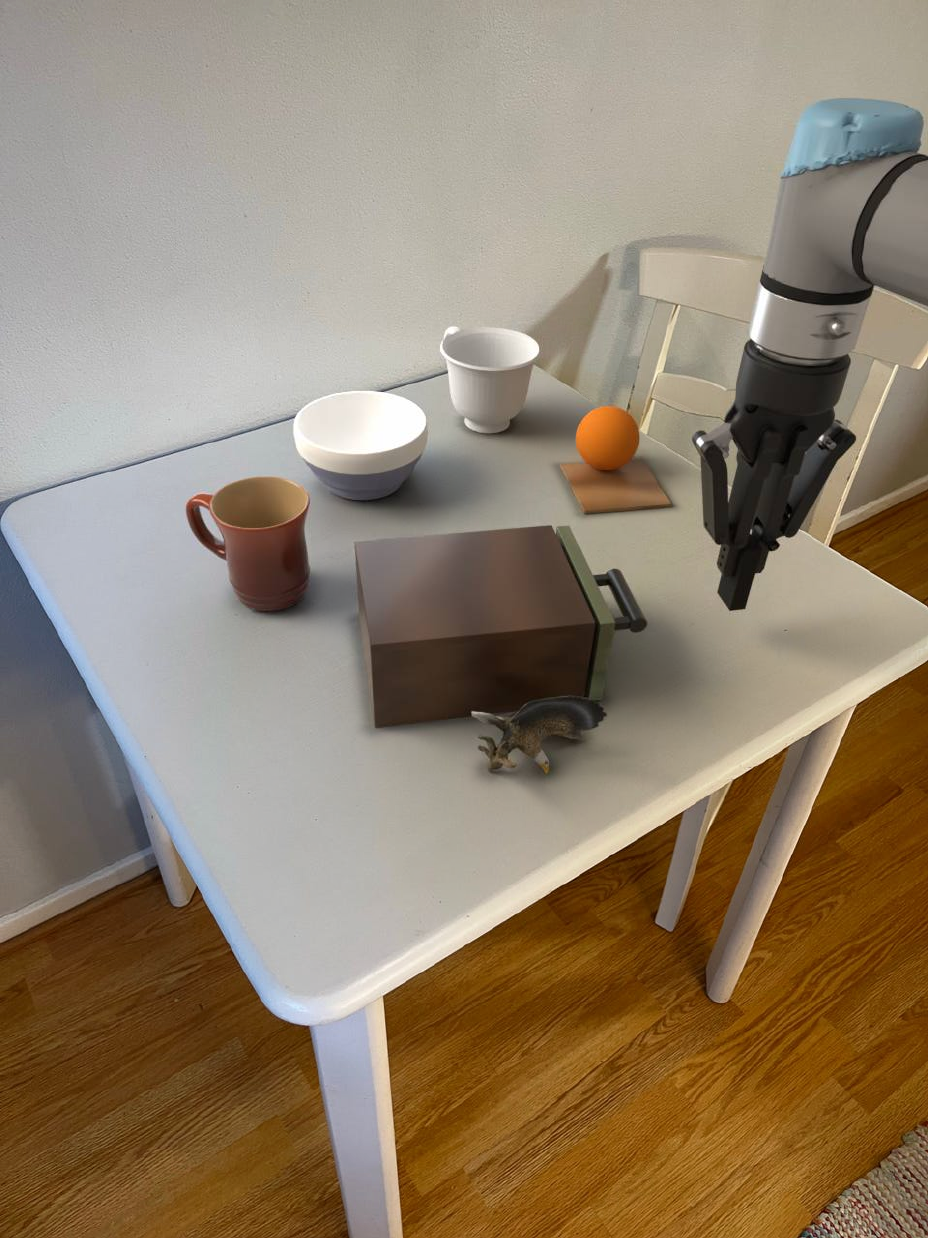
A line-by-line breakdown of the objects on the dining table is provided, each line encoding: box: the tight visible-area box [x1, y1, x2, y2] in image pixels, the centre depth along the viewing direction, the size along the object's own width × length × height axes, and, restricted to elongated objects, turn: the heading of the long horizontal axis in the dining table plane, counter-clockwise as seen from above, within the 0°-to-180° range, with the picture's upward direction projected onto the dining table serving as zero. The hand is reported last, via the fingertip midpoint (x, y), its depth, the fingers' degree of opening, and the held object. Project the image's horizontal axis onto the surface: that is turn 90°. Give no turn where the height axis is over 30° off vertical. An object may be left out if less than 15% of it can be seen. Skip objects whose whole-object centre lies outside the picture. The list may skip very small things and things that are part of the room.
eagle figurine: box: [471, 695, 608, 774], centre depth 70 cm, size 8×7×9 cm
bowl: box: [293, 390, 429, 501], centre depth 99 cm, size 14×14×8 cm
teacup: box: [439, 325, 542, 434], centre depth 111 cm, size 12×15×10 cm
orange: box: [575, 405, 641, 470], centre depth 103 cm, size 7×7×7 cm
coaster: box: [559, 457, 672, 515], centre depth 102 cm, size 10×10×1 cm
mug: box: [185, 475, 311, 612], centre depth 83 cm, size 12×9×10 cm
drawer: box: [555, 525, 648, 701], centre depth 77 cm, size 22×14×9 cm, turn 100°
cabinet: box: [353, 524, 595, 728], centre depth 77 cm, size 18×14×9 cm
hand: (731, 600), depth 80 cm, fingers closed
